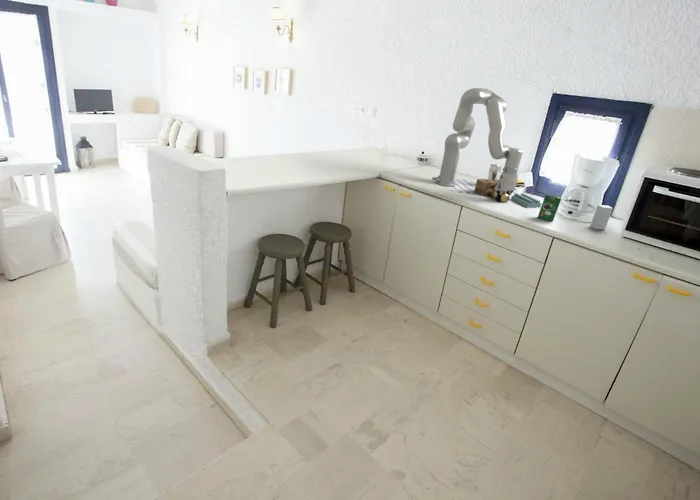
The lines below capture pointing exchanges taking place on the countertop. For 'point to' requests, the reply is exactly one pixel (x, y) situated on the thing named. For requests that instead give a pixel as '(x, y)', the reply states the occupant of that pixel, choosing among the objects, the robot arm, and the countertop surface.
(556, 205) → the coffee box
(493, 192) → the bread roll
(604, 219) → the skincare box
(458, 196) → the countertop surface
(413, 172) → the countertop surface
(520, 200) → the v block
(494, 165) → the beer glass
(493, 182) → the beam
